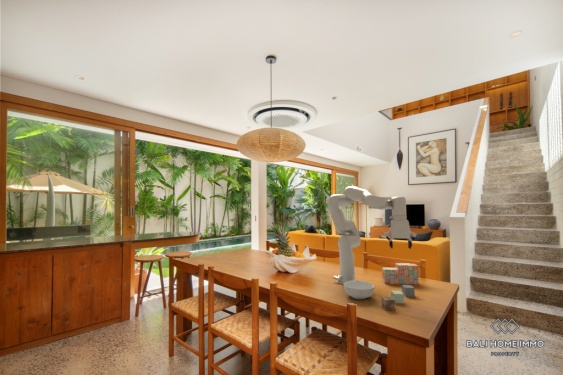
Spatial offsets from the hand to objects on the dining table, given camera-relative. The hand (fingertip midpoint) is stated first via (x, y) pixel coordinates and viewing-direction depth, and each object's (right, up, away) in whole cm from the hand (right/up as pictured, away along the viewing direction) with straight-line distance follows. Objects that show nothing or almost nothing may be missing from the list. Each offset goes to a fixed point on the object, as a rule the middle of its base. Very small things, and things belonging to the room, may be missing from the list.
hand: (400, 248), depth 152 cm
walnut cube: (-14, -27, -17) cm, 34 cm away
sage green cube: (-5, -27, -8) cm, 29 cm away
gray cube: (+5, -28, +2) cm, 28 cm away
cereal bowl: (-24, -28, 0) cm, 37 cm away
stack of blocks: (+11, -29, +25) cm, 40 cm away
